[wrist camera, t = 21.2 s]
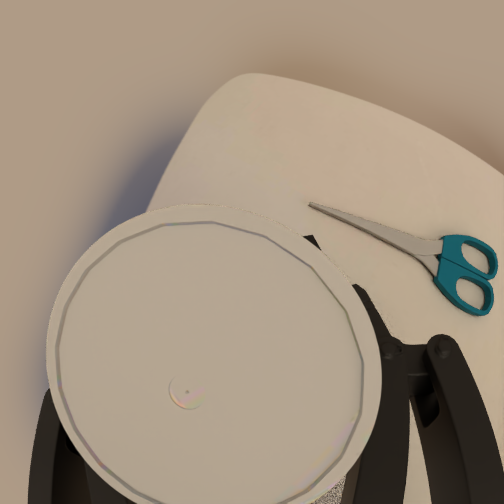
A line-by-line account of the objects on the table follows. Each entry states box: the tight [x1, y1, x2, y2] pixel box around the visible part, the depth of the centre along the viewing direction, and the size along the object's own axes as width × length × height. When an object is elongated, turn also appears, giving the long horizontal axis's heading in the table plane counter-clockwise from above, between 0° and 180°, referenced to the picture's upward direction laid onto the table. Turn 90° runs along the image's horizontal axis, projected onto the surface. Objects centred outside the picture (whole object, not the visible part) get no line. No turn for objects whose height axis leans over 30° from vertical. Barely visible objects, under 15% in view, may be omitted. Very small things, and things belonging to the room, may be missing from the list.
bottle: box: [46, 204, 382, 504], centre depth 11 cm, size 7×7×15 cm
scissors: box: [309, 202, 498, 316], centre depth 19 cm, size 7×1×20 cm
